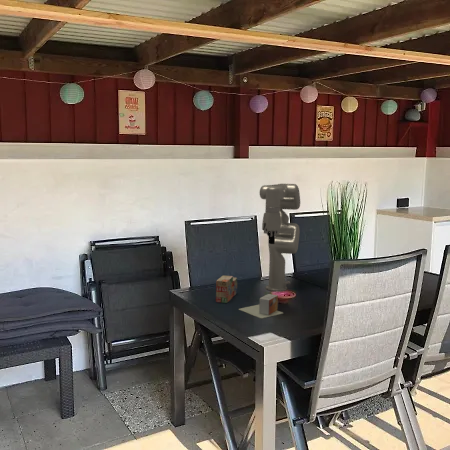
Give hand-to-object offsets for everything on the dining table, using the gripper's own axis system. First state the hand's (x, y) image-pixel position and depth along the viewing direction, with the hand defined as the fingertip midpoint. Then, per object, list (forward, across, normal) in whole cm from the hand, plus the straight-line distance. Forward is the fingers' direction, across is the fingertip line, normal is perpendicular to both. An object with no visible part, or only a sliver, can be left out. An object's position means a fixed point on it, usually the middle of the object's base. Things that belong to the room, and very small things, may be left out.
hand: (271, 243), depth 274 cm
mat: (+32, +17, +12) cm, 38 cm away
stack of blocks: (+32, +16, -18) cm, 41 cm away
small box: (+28, +10, +13) cm, 32 cm away
